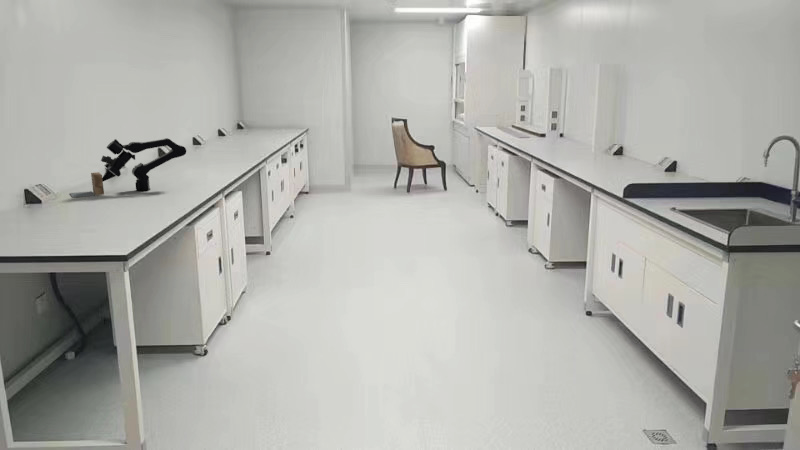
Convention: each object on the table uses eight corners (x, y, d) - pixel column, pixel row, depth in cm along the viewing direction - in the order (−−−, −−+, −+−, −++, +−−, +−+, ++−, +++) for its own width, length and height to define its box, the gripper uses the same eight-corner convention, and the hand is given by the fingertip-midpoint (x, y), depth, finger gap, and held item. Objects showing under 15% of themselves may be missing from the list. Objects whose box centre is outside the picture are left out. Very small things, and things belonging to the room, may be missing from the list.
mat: (91, 192, 348) (91, 191, 348) (95, 195, 336) (95, 195, 336) (69, 193, 342) (69, 193, 342) (72, 197, 331) (72, 196, 331)
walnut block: (101, 191, 350) (98, 172, 347) (104, 194, 340) (101, 175, 337) (93, 192, 347) (91, 172, 345) (96, 195, 338) (93, 175, 335)
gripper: (107, 148, 350) (87, 169, 347) (112, 152, 335) (91, 173, 331) (123, 162, 356) (104, 182, 353) (129, 165, 341) (108, 187, 337)
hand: (101, 181), depth 343 cm, fingers closed
